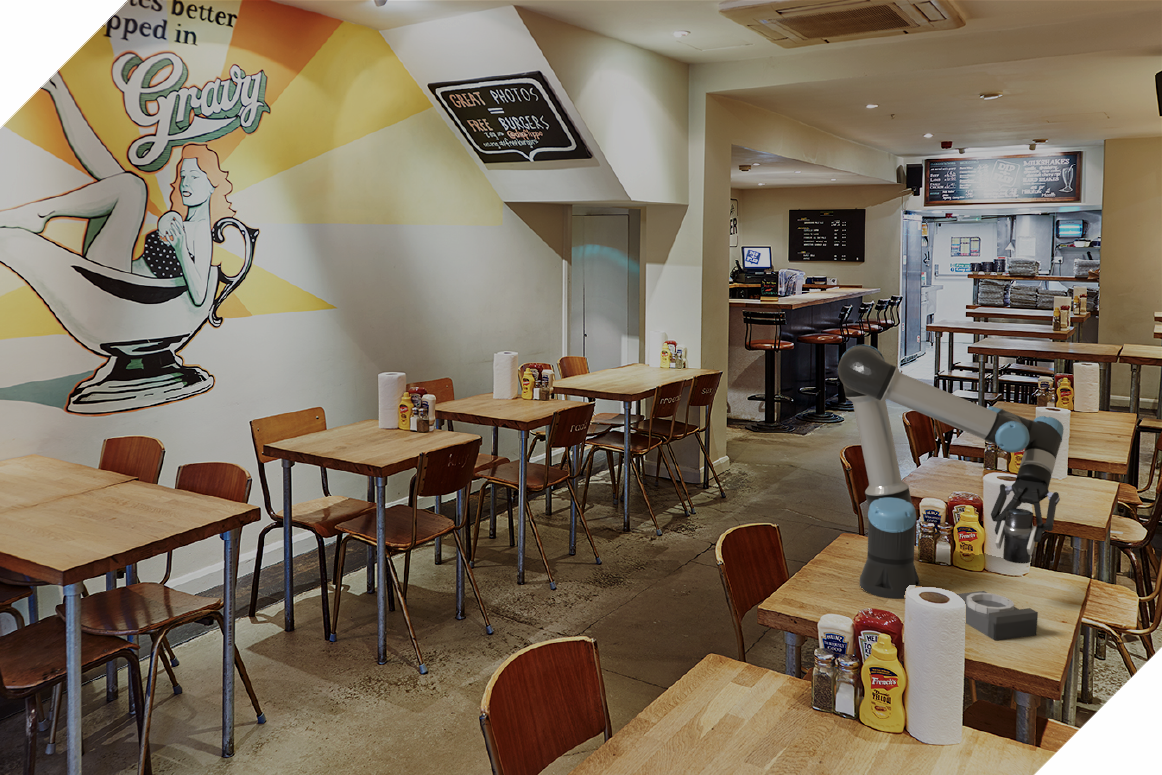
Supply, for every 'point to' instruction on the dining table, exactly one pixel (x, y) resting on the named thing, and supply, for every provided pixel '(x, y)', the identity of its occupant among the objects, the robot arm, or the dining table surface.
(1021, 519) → the lens
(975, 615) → the camera body
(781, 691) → the dining table surface
